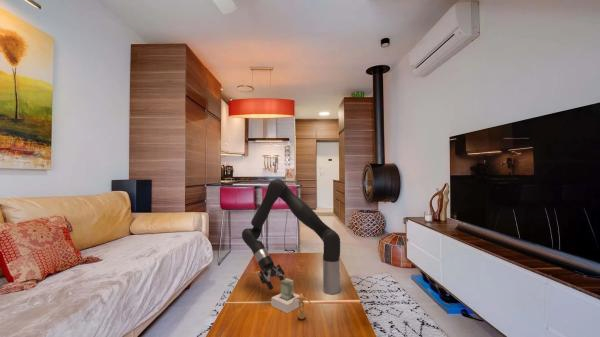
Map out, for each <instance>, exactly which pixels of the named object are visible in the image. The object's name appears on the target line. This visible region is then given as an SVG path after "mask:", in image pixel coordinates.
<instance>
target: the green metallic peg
mask: <svg viewBox="0 0 600 337" xmlns="http://www.w3.org/2000/svg"><path fill="white" fill-rule="evenodd" d="M280 293H281V299H283V300H286V301H289V300H290V299H292V298H293V293H294V280H293V279H291V278H284V280H282V281H280Z"/></svg>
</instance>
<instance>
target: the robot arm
mask: <svg viewBox="0 0 600 337" xmlns="http://www.w3.org/2000/svg"><path fill="white" fill-rule="evenodd" d="M279 198H280V199H281V200H282V201H283V202H284V203H285V204H286V205H287V207H288V208H289V210H290V211H291V213H292V214H293V215H294V217H295V218H297V220H299V221H300V222H301V223H302V224H304V225H305V226H306V227H307V228H309V229H310V230H312V231H313V232H314V233H315V234H316V235H317V236H318V237H319V238H320V239H321V241H322V242H323V255H322V286H323V287H322V289H323V292H324V293H325V294H329V295H335V294H339V293H340V292H341V290H342V289H341V272H340V271H341V269H340V264H341V263H340V257H341V238H340V235H339V233H337V231H335V230H333V229H332V228H331V227H329V226H328V225H327V224H326V223H324V222H323V221H322V219H321V218H320V217H319V215H317V213H316V212H315V211H314V210H313V208H311V207H310V206H309V205H308V204H307V203H305V201H303V200H302V199H301V198H300V197H299V196H298V195H296V194H295V193H294V192H293V191H292V190H291V189H290V187H289V186H288V185H287V184H286V183H285V182H284V180H282V179H279V178H275V179H272V181H270V182H269V183H268V186H267V188H266V192H265V194H264V197H263V199H262V201H261V203H260V205H259V206H258V208H257V210H256V211H255V213H254V215H253V217H252V219H251V221H250V224H251V225H252V226H253V227H252V228H249V227H247V228H244V229H243V230H242V232H241V237H242V241H243V242H244V244H246V246H248V247H249V249H250V250H251V252H252V253H253V256H254V258H255V261H256V262H257V264H258V267H259V268H260V270H259V272H258V273H257V275H258V277H259V279H260V282H261V284H262V285H263V284H266V286H267V289H268V290H270V291H272V290H273V289H274V285H273V284H272V282H271V281H270V279H271V278H272V277H275V278H276V277H277V278H278V279H279V281H280V282H281V281H282V280H284V279H285V278H284V275H285V272H284V270H283V268H282V266H281V265H280V264H277V265H275V264H274V260H273V259H272V257H271V255H270V253H269V252H268V251H269V250H267V249H266V247H265V245H264V243H263V242H262V240H259V238H260V237H261V234H262V233H261V232H262V230H263V226H264V224H265V222H266V220H267V219H268V216H269V214H270V212H271V210H272V208H273V206H274V204H275V203H276V202H277V200H278V199H279Z"/></svg>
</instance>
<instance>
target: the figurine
mask: <svg viewBox="0 0 600 337" xmlns="http://www.w3.org/2000/svg"><path fill="white" fill-rule="evenodd" d="M299 295H300V296H299V297H297V298H295V299H294V300H293V302H294V301H295V300H296V299H299V301H300V302H298V303H299V307H298V310H297V312H296V314H297V315H296V317H297V318H299V319H300V320H304V319H305V318H306V316H307V312H306V310H305V309H304V308H305V301H304V300H306V301H308V302H309V303H310V305H311V303H312V302H311V301H310V299H309V298H307V297H305V296H304V295H303V293H302V292H301V293H300V294H299ZM293 302H292V304H293ZM301 304H302V308H301V306H300V305H301Z"/></svg>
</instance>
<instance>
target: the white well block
mask: <svg viewBox="0 0 600 337" xmlns="http://www.w3.org/2000/svg"><path fill="white" fill-rule="evenodd" d="M299 296H300V294H298V293H295V292H293V298H292V299H290V300H289V301H286V300H283V299H281V292H280V293H279V294H276V295H273V296H272V297H271V307H273V308H276V309H278V310H279V311H282V312H284V313H286V314H289V313H291V312H293V311H294V310H296V309H299V303H298V302H300V301H299V299H296V300H295V301H294V302H293V300H294V299H295V298H297V297H299ZM292 302H293V304H292ZM301 306H302V307H303V305H302V304H301V305H300V307H301Z"/></svg>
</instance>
